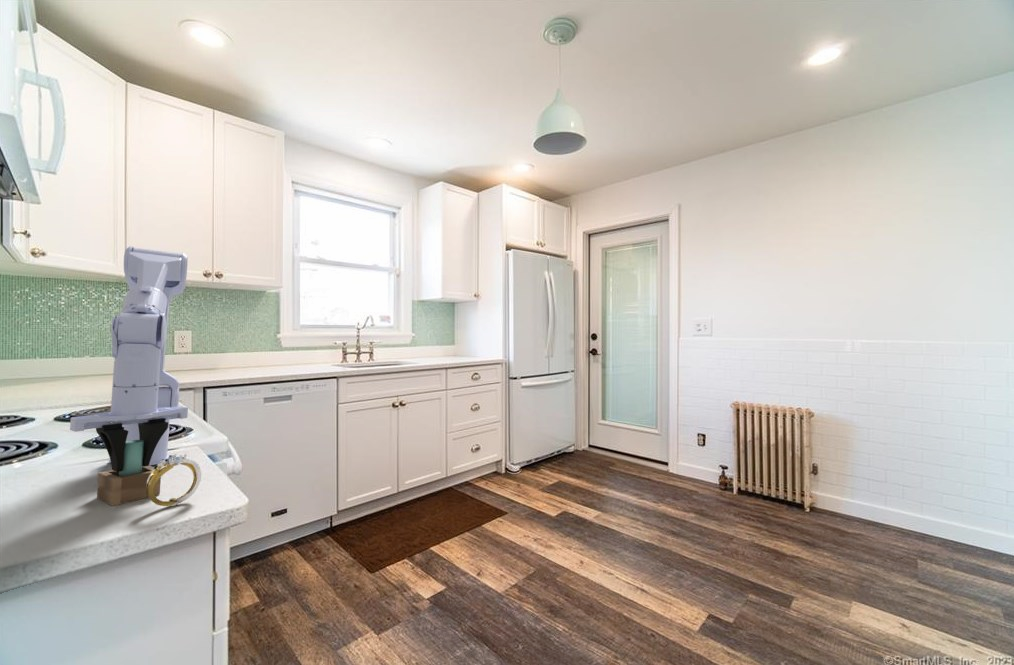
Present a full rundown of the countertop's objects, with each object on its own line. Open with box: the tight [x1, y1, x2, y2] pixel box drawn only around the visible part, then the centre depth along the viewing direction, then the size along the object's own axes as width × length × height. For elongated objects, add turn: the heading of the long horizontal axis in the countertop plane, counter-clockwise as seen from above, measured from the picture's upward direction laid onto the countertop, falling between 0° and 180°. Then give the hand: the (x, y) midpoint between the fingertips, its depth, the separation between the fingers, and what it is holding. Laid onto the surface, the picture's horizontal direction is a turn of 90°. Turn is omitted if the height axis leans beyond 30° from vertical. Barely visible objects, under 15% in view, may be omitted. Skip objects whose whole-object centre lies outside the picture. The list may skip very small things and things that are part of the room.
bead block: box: [96, 465, 162, 507], centre depth 68 cm, size 6×6×4 cm
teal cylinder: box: [119, 440, 144, 477], centre depth 68 cm, size 3×3×6 cm
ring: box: [146, 453, 202, 507], centre depth 65 cm, size 7×3×8 cm, turn 147°
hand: (130, 467), depth 68 cm, fingers closed on teal cylinder, 3 cm apart
